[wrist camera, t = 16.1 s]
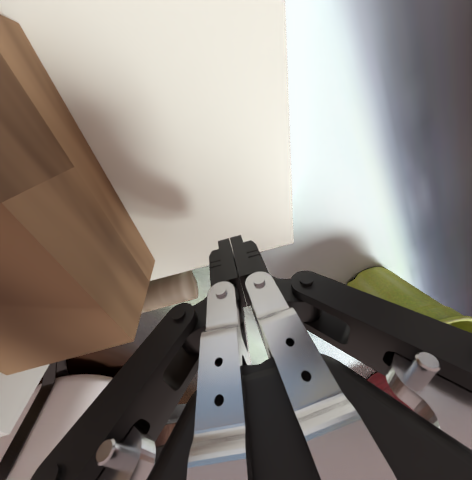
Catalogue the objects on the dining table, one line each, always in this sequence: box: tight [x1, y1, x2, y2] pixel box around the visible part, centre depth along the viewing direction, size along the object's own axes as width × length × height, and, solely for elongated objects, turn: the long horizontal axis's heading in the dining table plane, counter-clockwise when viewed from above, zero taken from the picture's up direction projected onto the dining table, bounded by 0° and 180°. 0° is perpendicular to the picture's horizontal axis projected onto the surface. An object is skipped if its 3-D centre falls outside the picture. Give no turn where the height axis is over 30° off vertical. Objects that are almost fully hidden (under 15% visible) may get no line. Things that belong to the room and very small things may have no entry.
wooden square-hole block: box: [0, 15, 155, 375], centre depth 10 cm, size 7×14×7 cm, turn 11°
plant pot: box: [347, 267, 472, 333], centre depth 22 cm, size 9×9×9 cm
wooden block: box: [141, 270, 198, 313], centre depth 19 cm, size 10×3×3 cm
